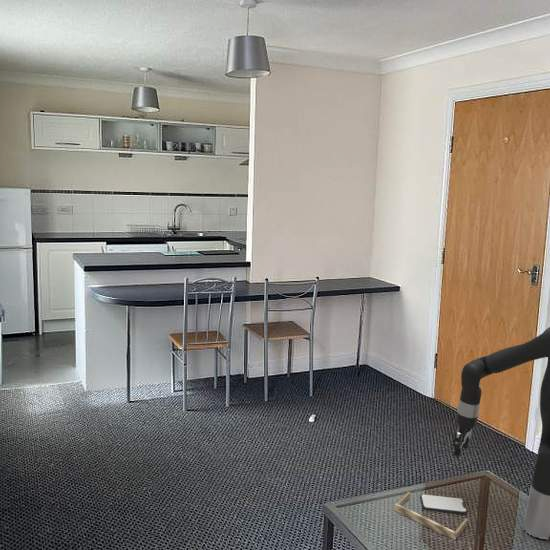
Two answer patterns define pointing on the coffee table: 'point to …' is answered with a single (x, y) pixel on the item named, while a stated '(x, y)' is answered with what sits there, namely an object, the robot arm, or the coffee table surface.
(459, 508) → the smartphone
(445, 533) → the wood frame
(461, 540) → the coffee table surface
